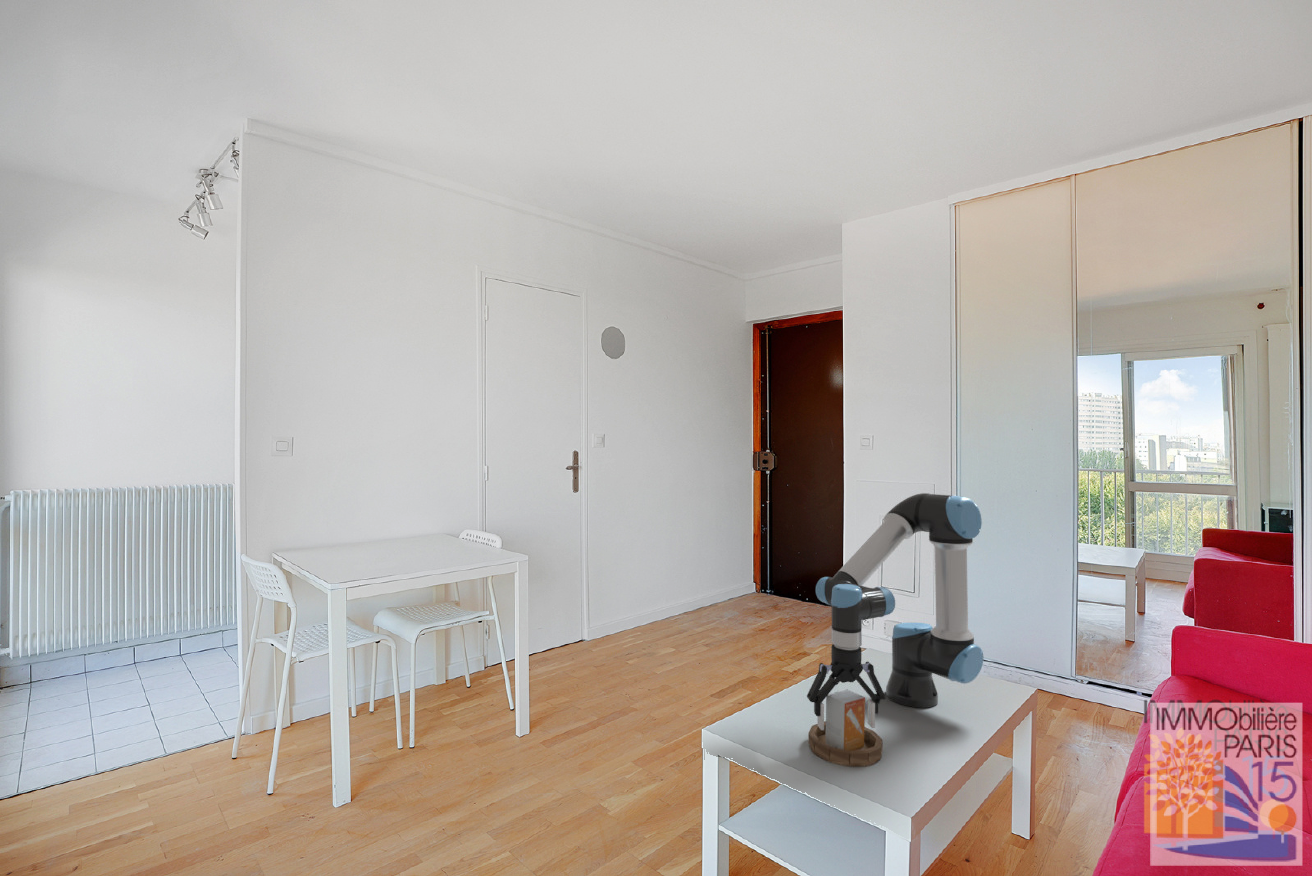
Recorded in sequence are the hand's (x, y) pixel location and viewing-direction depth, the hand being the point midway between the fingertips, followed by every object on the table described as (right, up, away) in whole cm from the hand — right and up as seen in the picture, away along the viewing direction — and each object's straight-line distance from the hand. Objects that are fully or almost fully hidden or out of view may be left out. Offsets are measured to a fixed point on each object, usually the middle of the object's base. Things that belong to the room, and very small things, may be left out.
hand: (846, 727), depth 164 cm
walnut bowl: (0, -6, 0) cm, 6 cm away
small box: (0, -5, 0) cm, 5 cm away
